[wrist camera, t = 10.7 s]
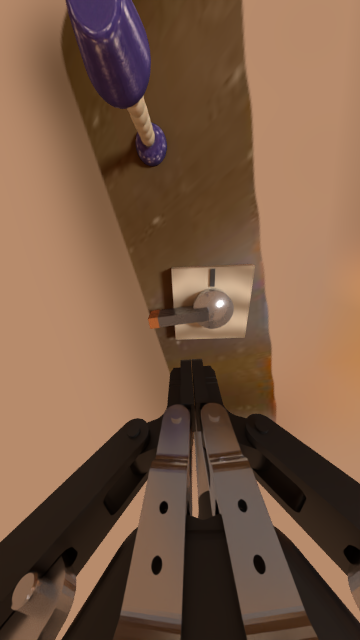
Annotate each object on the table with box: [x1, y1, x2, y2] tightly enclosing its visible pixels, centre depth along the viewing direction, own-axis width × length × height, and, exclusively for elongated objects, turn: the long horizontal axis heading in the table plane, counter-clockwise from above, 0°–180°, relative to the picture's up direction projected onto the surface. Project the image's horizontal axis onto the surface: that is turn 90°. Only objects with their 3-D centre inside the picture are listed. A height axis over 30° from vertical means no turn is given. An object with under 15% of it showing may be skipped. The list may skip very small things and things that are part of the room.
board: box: [171, 264, 255, 339], centre depth 32 cm, size 14×14×2 cm
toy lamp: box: [66, 0, 167, 166], centre depth 16 cm, size 5×5×17 cm
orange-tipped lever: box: [148, 288, 234, 329], centre depth 29 cm, size 15×7×4 cm, turn 99°
